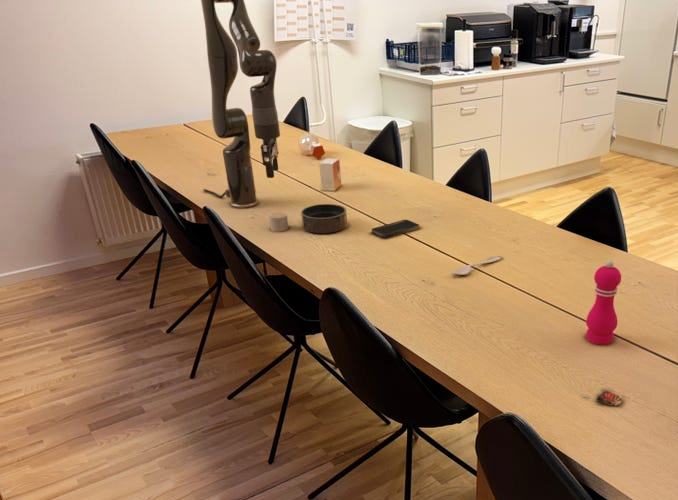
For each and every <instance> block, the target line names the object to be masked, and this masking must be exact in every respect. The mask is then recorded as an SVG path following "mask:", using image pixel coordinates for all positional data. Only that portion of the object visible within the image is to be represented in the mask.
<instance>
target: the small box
mask: <svg viewBox="0 0 678 500" xmlns="http://www.w3.org/2000/svg"><path fill="white" fill-rule="evenodd" d="M340 163H341V162H340V159H339V158H330V157H329V158H325V159H323V160H322V161H320V162H319V163H318V168H319V179H320V188H321V191H329V192H336V190H338V188H340V187H342V175H341V164H340Z"/></svg>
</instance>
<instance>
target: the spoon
mask: <svg viewBox="0 0 678 500" xmlns="http://www.w3.org/2000/svg"><path fill="white" fill-rule="evenodd" d="M501 259H502V256H501V257H500V256H494V257H491V258H489V259H486V260H483V261H480V262H476V263H473V264H468V265H465V266H462V267H459V268H457V269H454V270H452V271H451V273H452V274H454V275H458V276H465V275H468V274H469V273H471V268H472V267H474V266H478V265H484V264H490V263H494V262H497V261H500V260H501Z"/></svg>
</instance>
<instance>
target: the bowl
mask: <svg viewBox="0 0 678 500" xmlns="http://www.w3.org/2000/svg"><path fill="white" fill-rule="evenodd" d="M300 216H301V226H302V227H301V228H302V229H304V230H305V231H307V232H309V233H312V234H321V235H323V234H325V235H326V234H333V233H336V232H339V231H342V230H344V229H345V228H347V226H348V215H347V208H345V206H343V205H339V204H334V203H320V204H314V205H309V206H307V207H304V208H303V209H302V210H300Z"/></svg>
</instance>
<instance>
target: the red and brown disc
mask: <svg viewBox="0 0 678 500" xmlns="http://www.w3.org/2000/svg"><path fill="white" fill-rule="evenodd" d="M621 398H622V396H621V395H620V394H617V393H614V391H610V390H608V389H604V390H603V391H602V392H601V393H600V394H599V395H597V398H596V401H598V402H599V403H601V404H602V403H603V404H605V405H609V406H619V405H621V402H622V400H620V399H621Z"/></svg>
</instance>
